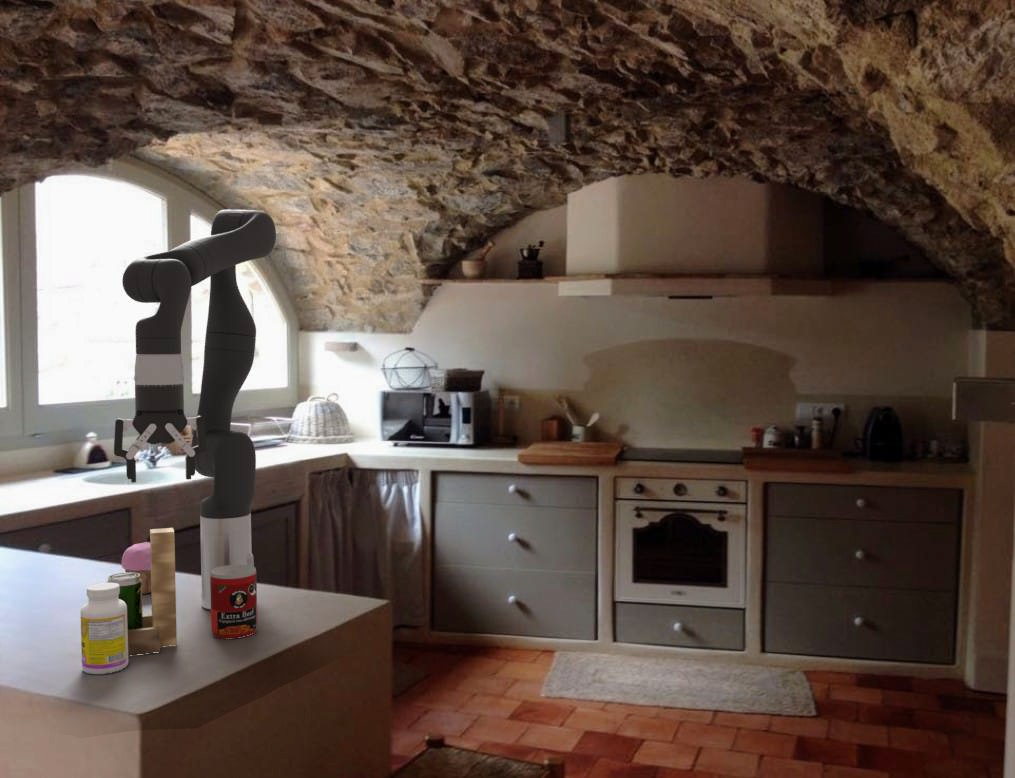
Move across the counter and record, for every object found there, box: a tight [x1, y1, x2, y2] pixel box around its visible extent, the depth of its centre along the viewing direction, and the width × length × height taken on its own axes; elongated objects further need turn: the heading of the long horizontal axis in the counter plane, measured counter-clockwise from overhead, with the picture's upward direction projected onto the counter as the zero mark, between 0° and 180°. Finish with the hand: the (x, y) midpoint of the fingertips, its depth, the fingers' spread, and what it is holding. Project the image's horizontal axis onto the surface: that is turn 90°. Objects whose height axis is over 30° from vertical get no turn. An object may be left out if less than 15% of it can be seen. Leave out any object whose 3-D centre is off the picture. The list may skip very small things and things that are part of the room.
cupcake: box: [121, 541, 151, 595], centre depth 198 cm, size 9×9×10 cm
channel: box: [128, 613, 161, 657], centre depth 163 cm, size 10×9×4 cm
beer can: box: [106, 572, 144, 630], centre depth 162 cm, size 5×5×12 cm
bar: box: [149, 527, 178, 648], centre depth 164 cm, size 4×4×19 cm
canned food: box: [210, 565, 258, 640], centre depth 171 cm, size 8×8×11 cm
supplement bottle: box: [80, 582, 129, 675], centre depth 153 cm, size 7×7×13 cm
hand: (161, 480), depth 164 cm, fingers open, 8 cm apart
